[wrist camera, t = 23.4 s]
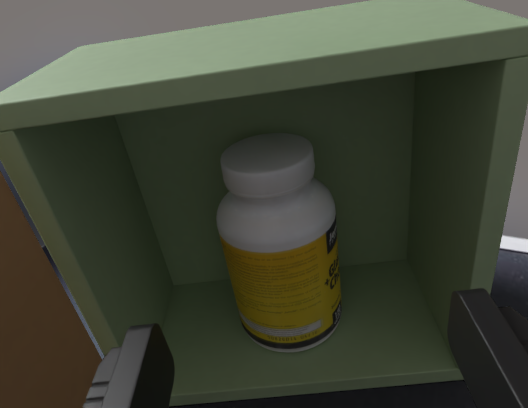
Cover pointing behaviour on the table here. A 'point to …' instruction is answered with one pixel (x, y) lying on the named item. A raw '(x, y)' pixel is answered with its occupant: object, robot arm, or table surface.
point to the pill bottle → (280, 242)
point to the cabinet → (326, 171)
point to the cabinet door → (37, 323)
